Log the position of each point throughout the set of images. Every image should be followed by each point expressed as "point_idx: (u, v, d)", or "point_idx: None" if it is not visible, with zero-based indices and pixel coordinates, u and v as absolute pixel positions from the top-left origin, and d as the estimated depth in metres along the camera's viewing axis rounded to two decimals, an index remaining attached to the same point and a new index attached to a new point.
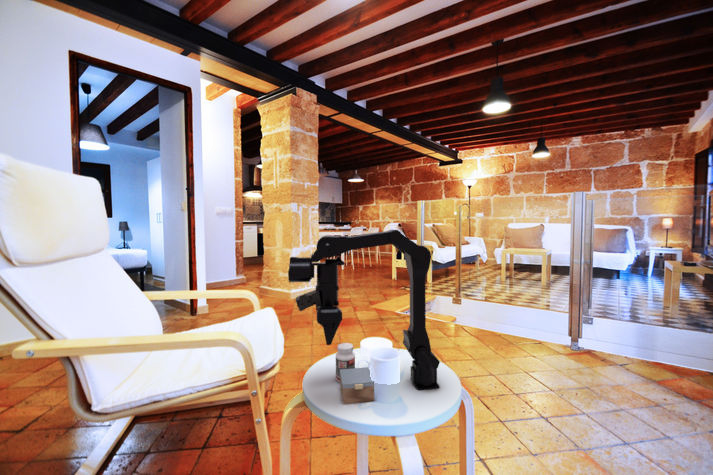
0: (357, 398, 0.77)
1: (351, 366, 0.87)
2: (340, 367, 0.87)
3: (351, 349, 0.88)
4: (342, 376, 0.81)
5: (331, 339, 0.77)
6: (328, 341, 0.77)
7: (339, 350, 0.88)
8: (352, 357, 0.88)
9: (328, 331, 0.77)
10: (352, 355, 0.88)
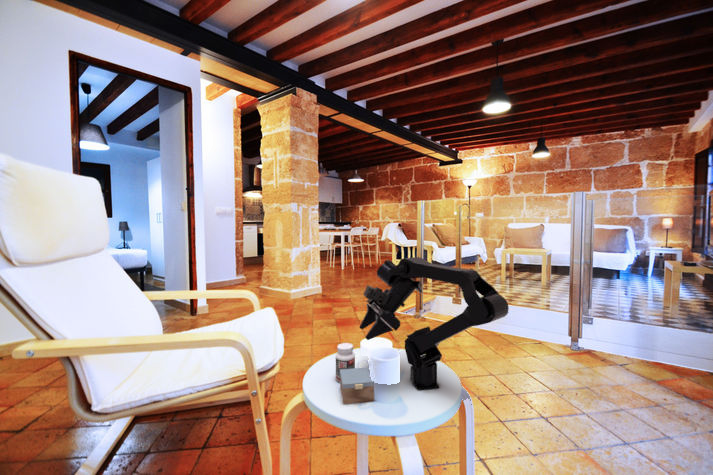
0: (357, 398, 0.77)
1: (351, 366, 0.87)
2: (340, 367, 0.87)
3: (351, 349, 0.88)
4: (342, 376, 0.81)
5: (372, 337, 0.85)
6: (368, 336, 0.85)
7: (339, 350, 0.88)
8: (352, 357, 0.88)
9: (376, 329, 0.84)
10: (352, 355, 0.88)
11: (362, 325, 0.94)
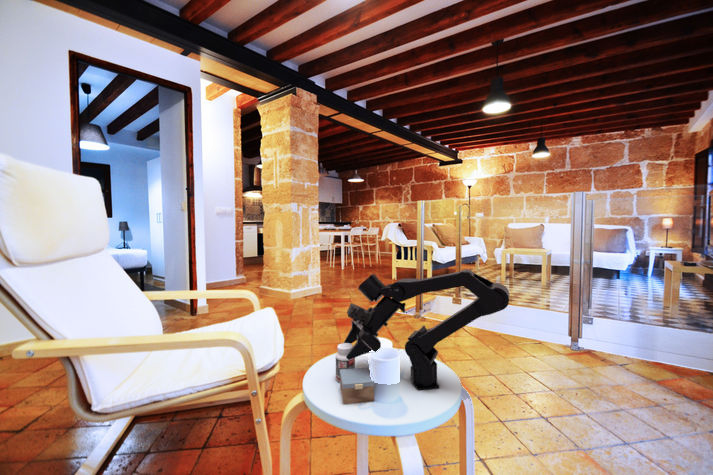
0: (357, 398, 0.77)
1: (351, 366, 0.87)
2: (340, 367, 0.87)
3: None
4: (342, 376, 0.81)
5: (353, 356, 0.84)
6: (349, 356, 0.84)
7: (339, 350, 0.88)
8: None
9: (357, 349, 0.84)
10: None
11: (346, 342, 0.94)
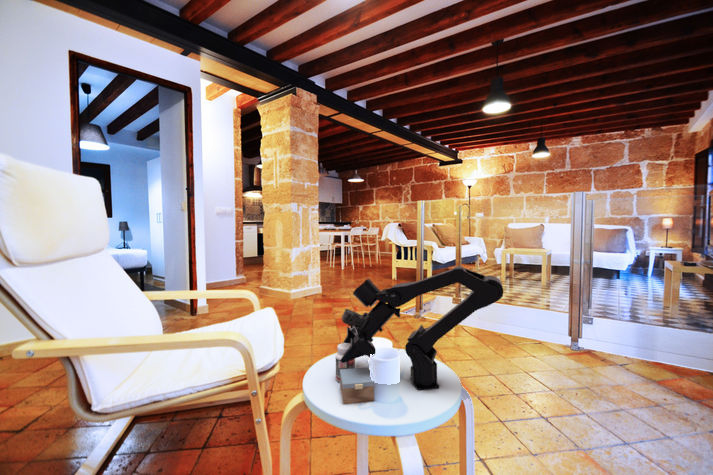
0: (357, 398, 0.77)
1: (351, 366, 0.87)
2: (340, 367, 0.87)
3: None
4: (342, 376, 0.81)
5: (347, 360, 0.86)
6: (343, 359, 0.86)
7: (339, 350, 0.88)
8: None
9: (351, 353, 0.85)
10: None
11: None
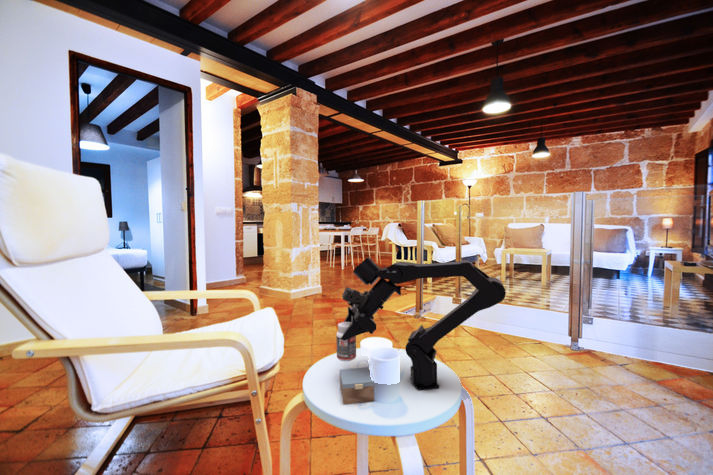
0: (357, 398, 0.77)
1: (351, 344, 0.86)
2: (341, 345, 0.86)
3: None
4: (342, 376, 0.81)
5: (348, 337, 0.85)
6: (344, 337, 0.85)
7: (340, 328, 0.87)
8: None
9: (351, 330, 0.84)
10: None
11: None
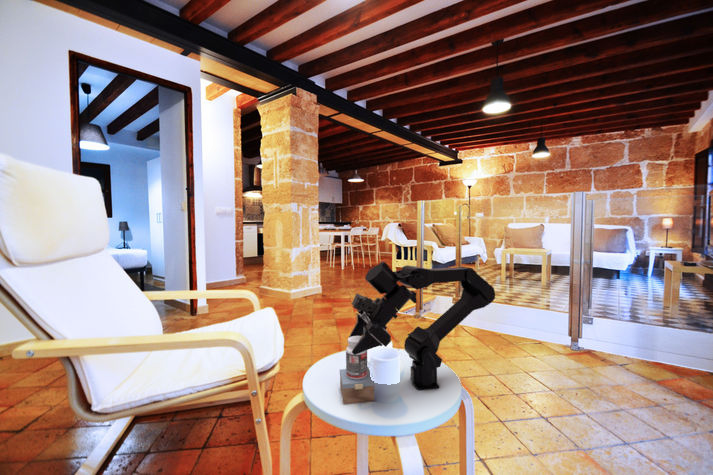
0: (357, 398, 0.77)
1: (363, 361, 0.79)
2: (352, 362, 0.79)
3: None
4: (342, 376, 0.81)
5: (359, 351, 0.76)
6: (355, 350, 0.76)
7: (350, 343, 0.79)
8: (364, 351, 0.79)
9: (363, 343, 0.76)
10: None
11: None
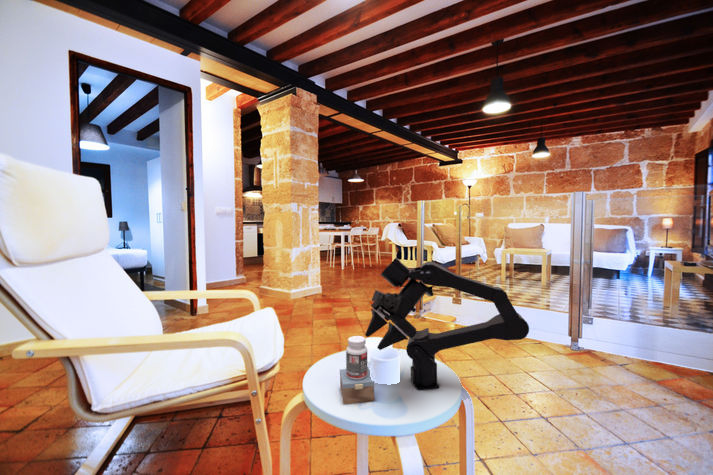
0: (357, 398, 0.77)
1: (363, 361, 0.79)
2: (352, 362, 0.79)
3: (364, 342, 0.80)
4: (342, 376, 0.81)
5: (385, 346, 0.78)
6: (381, 346, 0.78)
7: (350, 343, 0.79)
8: (365, 351, 0.79)
9: (389, 338, 0.78)
10: (364, 349, 0.80)
11: (368, 332, 0.87)
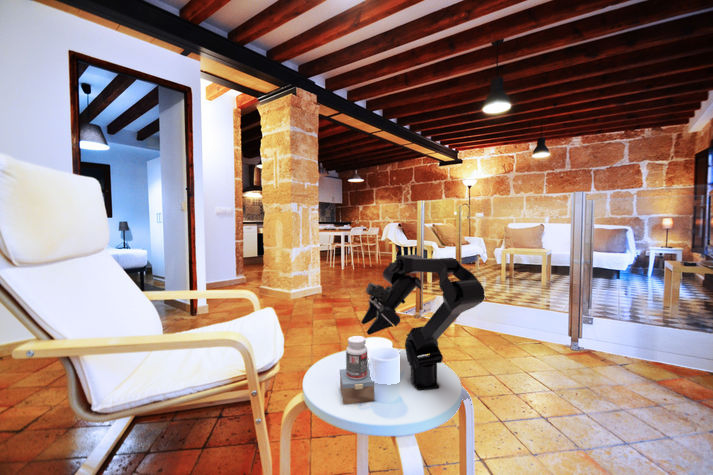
0: (357, 398, 0.77)
1: (363, 361, 0.79)
2: (352, 362, 0.79)
3: (364, 342, 0.80)
4: (342, 376, 0.81)
5: (373, 331, 0.88)
6: (369, 331, 0.88)
7: (350, 343, 0.79)
8: (364, 351, 0.79)
9: (377, 325, 0.88)
10: (364, 349, 0.80)
11: (364, 320, 0.98)
